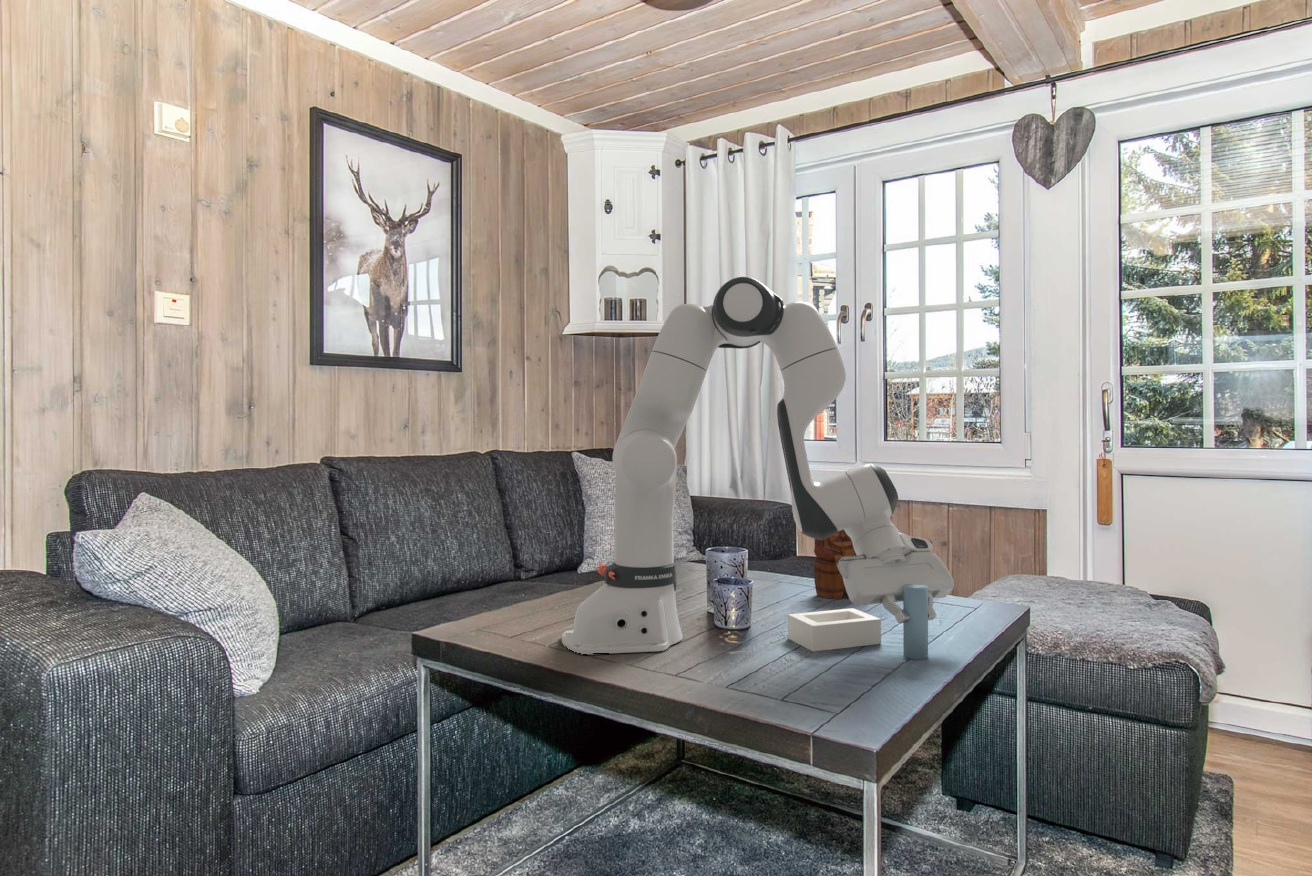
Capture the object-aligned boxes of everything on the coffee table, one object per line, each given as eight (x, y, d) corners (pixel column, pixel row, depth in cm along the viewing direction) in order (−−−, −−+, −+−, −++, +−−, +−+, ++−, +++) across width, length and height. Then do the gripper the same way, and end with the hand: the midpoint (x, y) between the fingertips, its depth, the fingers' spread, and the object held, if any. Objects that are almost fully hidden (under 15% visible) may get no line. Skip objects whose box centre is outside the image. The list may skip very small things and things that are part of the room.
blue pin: (913, 660, 132) (913, 589, 132) (898, 654, 136) (898, 585, 136) (933, 658, 133) (933, 587, 133) (917, 651, 137) (917, 583, 137)
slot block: (813, 651, 138) (813, 625, 138) (788, 638, 146) (788, 614, 146) (881, 643, 142) (880, 618, 142) (852, 631, 151) (852, 608, 151)
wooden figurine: (821, 600, 178) (821, 520, 177) (812, 594, 184) (812, 517, 184) (871, 598, 179) (871, 519, 179) (860, 592, 186) (860, 516, 185)
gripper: (840, 546, 137) (873, 614, 128) (937, 540, 144) (975, 604, 135) (827, 567, 142) (858, 635, 133) (921, 560, 148) (957, 624, 139)
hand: (918, 619), depth 134 cm, fingers closed on blue pin, 4 cm apart
